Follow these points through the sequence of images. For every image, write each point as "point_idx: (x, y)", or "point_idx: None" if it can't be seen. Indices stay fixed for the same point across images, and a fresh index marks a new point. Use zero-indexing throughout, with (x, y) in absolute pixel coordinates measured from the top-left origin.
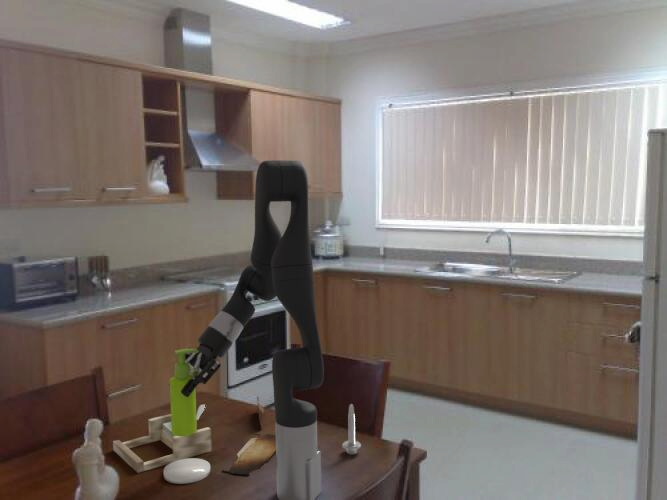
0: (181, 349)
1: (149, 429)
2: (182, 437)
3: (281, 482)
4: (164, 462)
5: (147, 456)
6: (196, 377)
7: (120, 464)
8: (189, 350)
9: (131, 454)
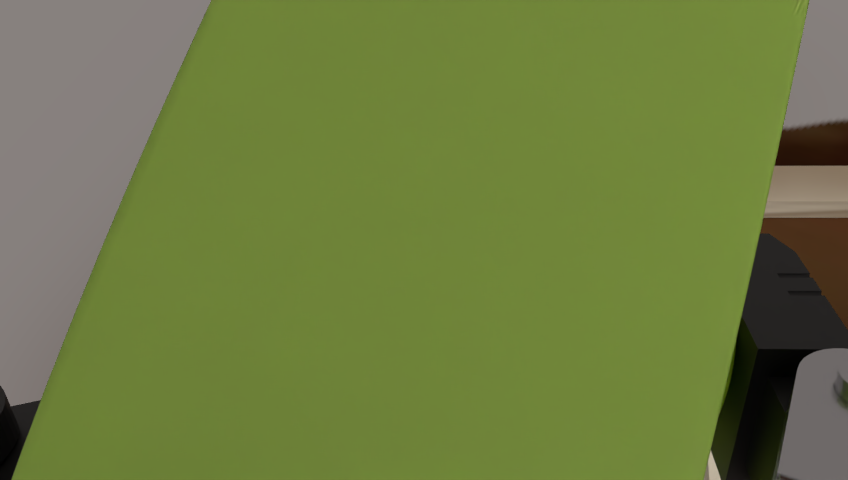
0: (763, 81)
1: None
2: (707, 473)
3: None
4: None
5: (839, 309)
6: (3, 392)
7: (819, 150)
8: (53, 414)
9: (808, 181)
